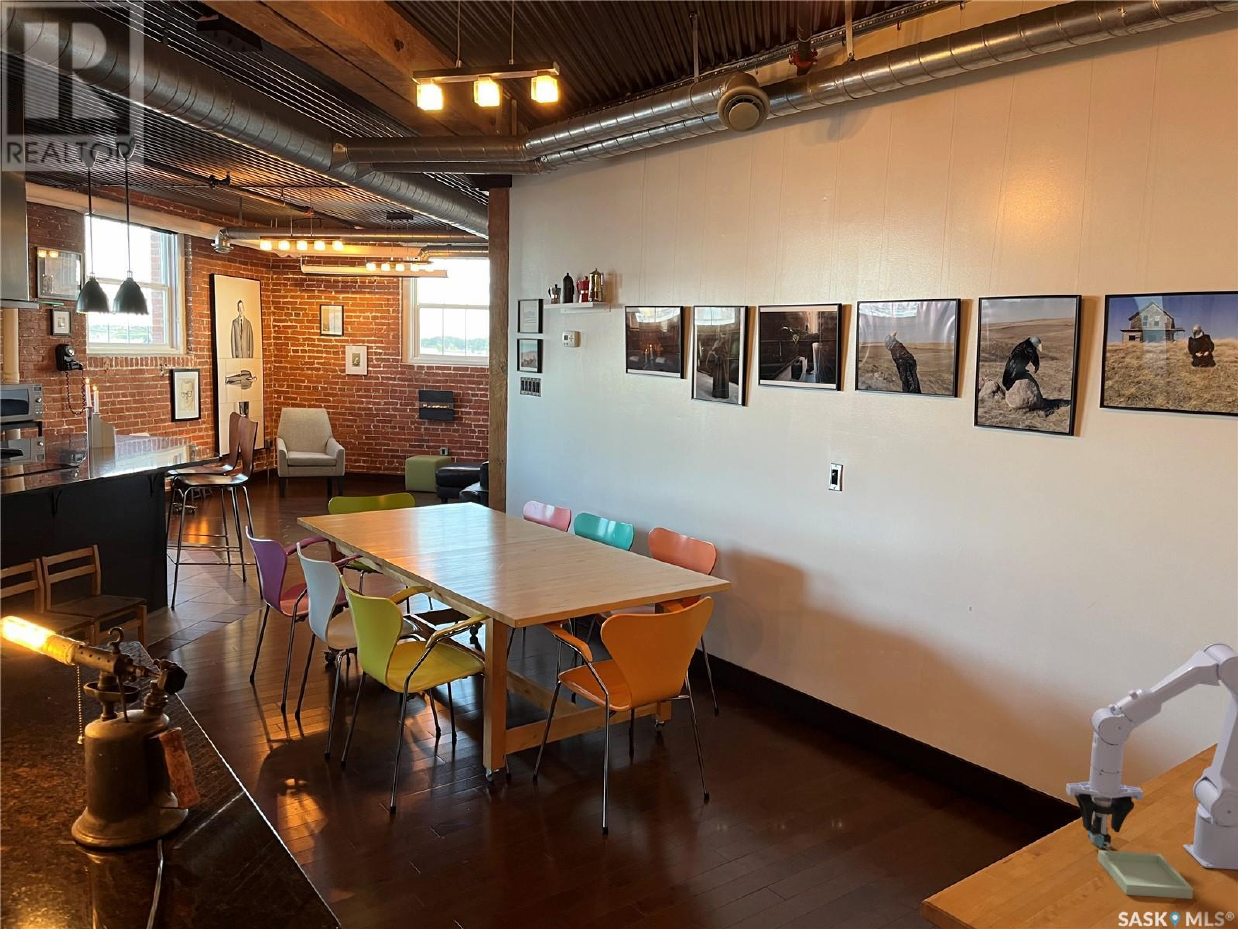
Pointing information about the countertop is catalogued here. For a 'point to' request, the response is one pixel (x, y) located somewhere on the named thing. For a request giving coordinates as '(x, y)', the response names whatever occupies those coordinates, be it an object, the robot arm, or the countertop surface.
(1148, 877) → the tray
